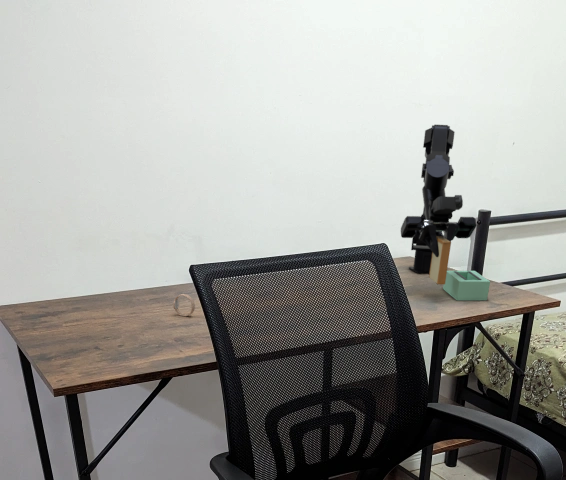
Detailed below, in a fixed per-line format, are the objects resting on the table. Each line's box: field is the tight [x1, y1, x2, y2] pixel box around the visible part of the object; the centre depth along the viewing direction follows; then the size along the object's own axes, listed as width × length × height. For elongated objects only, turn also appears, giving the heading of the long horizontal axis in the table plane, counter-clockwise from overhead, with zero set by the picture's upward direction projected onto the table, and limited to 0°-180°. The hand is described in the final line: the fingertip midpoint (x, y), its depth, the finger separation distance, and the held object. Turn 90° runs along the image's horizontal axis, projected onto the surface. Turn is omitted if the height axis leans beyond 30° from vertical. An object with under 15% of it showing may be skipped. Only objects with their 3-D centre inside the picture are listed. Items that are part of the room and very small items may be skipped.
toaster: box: [442, 270, 491, 301], centre depth 194 cm, size 12×10×5 cm
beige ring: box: [172, 293, 196, 317], centre depth 169 cm, size 3×5×5 cm, turn 70°
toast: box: [428, 236, 452, 285], centre depth 186 cm, size 8×2×10 cm, turn 7°
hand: (442, 256), depth 184 cm, fingers closed on toast, 2 cm apart
